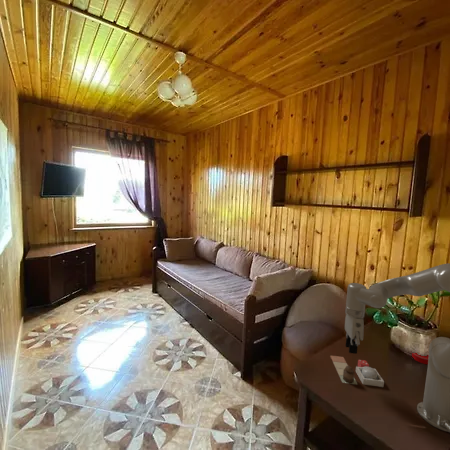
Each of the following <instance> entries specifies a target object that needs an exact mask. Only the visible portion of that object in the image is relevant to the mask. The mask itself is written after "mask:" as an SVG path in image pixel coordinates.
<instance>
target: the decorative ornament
mask: <svg viewBox="0 0 450 450" xmlns="http://www.w3.org/2000/svg"><path fill="white" fill-rule="evenodd" d="M412 357H413V358H414V361H416V362H418V363H421V364H423V365H427V366H428V358H429V355H427V356H421V355H418V354H417V353H412ZM412 357H411V358H412ZM413 358H412V359H413Z"/></svg>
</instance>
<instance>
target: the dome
mask: <svg viewBox="0 0 450 450" xmlns="http://www.w3.org/2000/svg"><path fill="white" fill-rule="evenodd" d="M375 369H376V368H373V367H371V366H369V367H367V366H365V367H363V368H362V374H363V376H364V378H368V379H376V380H377V372H378V370H377V369H376V370H375Z"/></svg>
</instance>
